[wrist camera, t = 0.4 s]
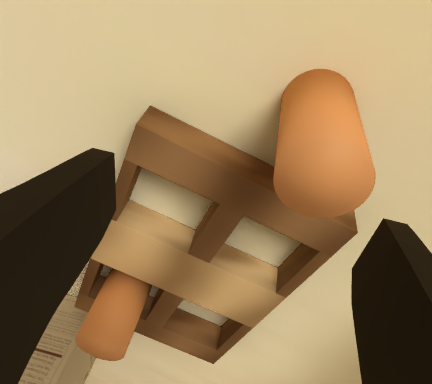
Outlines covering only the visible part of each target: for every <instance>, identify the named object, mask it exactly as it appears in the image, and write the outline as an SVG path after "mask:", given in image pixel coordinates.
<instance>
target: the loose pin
mask: <svg viewBox="0 0 432 384" xmlns="http://www.w3.org/2000/svg"><path fill="white" fill-rule="evenodd" d="M273 182H274V188H275V191H276V194H277V196H278V197H279V199H280V200H281V201H282V203H283V204H285V205H286V206H287V207H288V208H290V209H291V210H293V211H294V212H296V213H299V214H301V215H304V216H308V217H313V218H331V217H337V216H340V215H344V214H346V213H349V212H351V211H353V210H354V209H356V208H357V207H359V206H360V205H361V204H363V203H364V202H365V201H366V199H367V198H368V197H369V195H370V194H371V192H372V190H373V188H374V184H375V170H374V166H373V162H372V158H371V155H370V151H369V147H368V144H367V140H366V136H365V133H364V129H363V125H362V122H361V118H360V114H359V111H358V107H357V103H356V100H355V96H354V92H353V89H352V87H351V85H350V83H349V82H348V81H347V79H346V78H344V77H343V76H342V75H340V74H339V73H337V72H335V71H331V70H327V69H315V70H310V71H307V72H305V73H302V74H300V75H299V76H297V77H296V78H295V79H294V80H292V81H291V83H290V84H289V85H288V86H287V88H286V90H285V91H284V94H283V97H282V102H281V112H280V121H279V130H278V140H277V149H276V159H275V168H274V178H273Z"/></svg>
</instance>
